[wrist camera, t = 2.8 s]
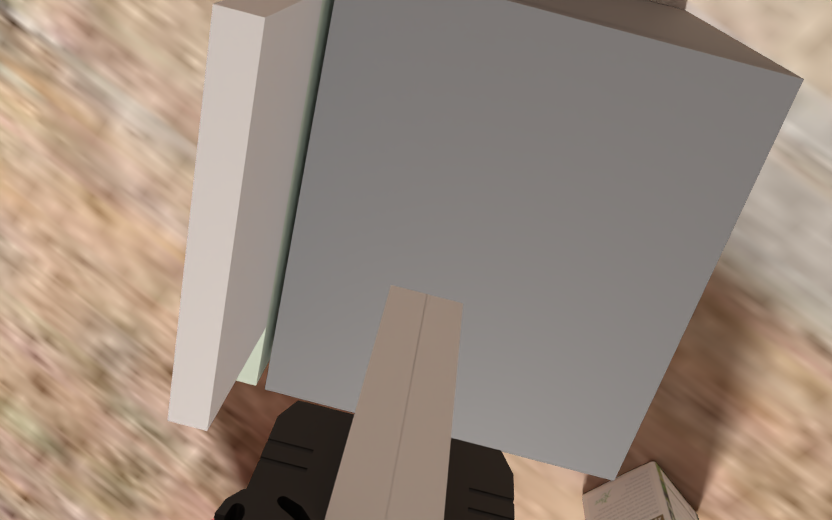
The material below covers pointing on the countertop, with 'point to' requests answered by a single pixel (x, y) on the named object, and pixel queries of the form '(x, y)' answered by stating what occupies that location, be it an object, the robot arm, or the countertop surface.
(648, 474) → the syrup box
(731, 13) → the countertop surface
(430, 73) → the box
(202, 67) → the countertop surface
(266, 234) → the side door
